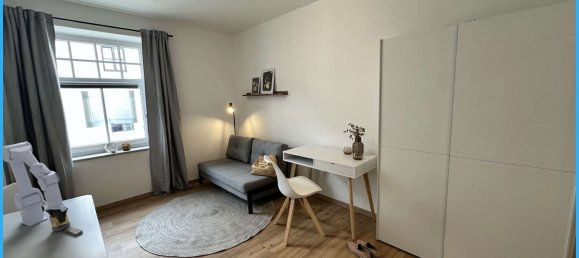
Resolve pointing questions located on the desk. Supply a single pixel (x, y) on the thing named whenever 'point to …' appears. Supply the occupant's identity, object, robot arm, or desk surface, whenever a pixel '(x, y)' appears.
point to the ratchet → (67, 229)
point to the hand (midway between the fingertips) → (59, 221)
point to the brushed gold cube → (55, 221)
